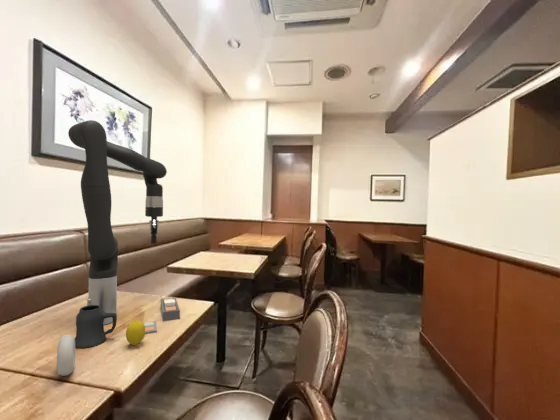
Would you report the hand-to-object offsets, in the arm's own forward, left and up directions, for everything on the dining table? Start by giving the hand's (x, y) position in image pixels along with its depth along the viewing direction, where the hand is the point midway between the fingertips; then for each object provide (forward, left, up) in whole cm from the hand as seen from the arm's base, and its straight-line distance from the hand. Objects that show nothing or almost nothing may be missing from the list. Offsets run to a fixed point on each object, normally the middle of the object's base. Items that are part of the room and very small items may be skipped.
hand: (153, 243), depth 133 cm
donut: (-22, -54, -27) cm, 64 cm away
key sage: (+6, -13, -26) cm, 30 cm away
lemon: (-6, -44, -27) cm, 52 cm away
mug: (-18, -36, -27) cm, 49 cm away
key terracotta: (+6, -24, -26) cm, 36 cm away
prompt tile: (-2, -32, -27) cm, 42 cm away
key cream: (+6, -19, -25) cm, 31 cm away
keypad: (+6, -19, -27) cm, 33 cm away
